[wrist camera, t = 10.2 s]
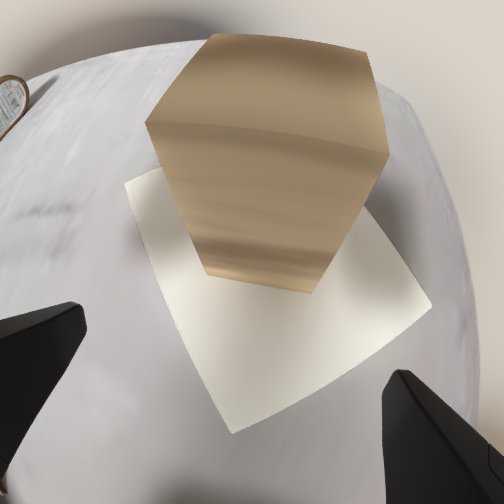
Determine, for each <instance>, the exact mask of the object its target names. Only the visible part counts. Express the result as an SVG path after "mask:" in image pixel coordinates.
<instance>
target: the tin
mask: <svg viewBox="0 0 504 504" xmlns="http://www.w3.org/2000/svg"><path fill="white" fill-rule="evenodd" d="M28 103H29V89H28V86H27V84H26V82H25V81H24V80H23V79H22V78H20V77H17V76H14V75H5V76H2V77H0V140H1V139H2V138H3V137H4V136H5V135H6V134H7V133H8V132H9V130H10V129H11V128H12V127H13V126H14V125H15V124H16V123H17V122H18V121H19V120H20V119H21V118H22V116H23V115H24V113H25V111H26V109H27V106H28Z"/></svg>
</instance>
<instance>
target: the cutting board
mask: <svg viewBox="0 0 504 504" xmlns="http://www.w3.org/2000/svg"><path fill="white" fill-rule="evenodd" d="M125 188H126V191H127V194H128V198H129V201H130V204H131V207H132V210H133V214H134V217H135V220H136V223H137V226H138V229H139V232H140V235H141V237H142V240H143V243H144V246H145V249H146V251H147V254H148V257H149V260H150V262H151V265H152V268H153V270H154V273H155V275H156V278H157V281H158V283H159V286H160V288H161V291H162V293H163V296H164V298H165V300H166V303H167V305H168V308H169V310H170V312H171V315H172V317H173V319H174V321H175V324H176V326H177V328H178V331H179V333H180V335H181V337H182V339H183V341H184V344H185V346H186V348H187V350H188V352H189V354H190V356H191V358H192V361H193V363H194V365H195V367H196V369H197V371H198V373H199V375H200V377H201V379H202V381H203V383H204V385H205V387H206V388H207V390H208V392H209V394H210V396H211V398H212V400H213V402H214V404H215V405H216V407H217V409H218V411H219V413H220V415H221V416H222V418H223V420H224V422H225V423H226V425H227V427H228V429H229V430H230V432H231V434H234V433H236V432H238V431H240V430H243V429H245V428H247V427H249V426H251V425H253V424H255V423H258V422H260V421H262V420H264V419H266V418H268V417H270V416H272V415H274V414H276V413H278V412H280V411H281V410H283V409H285V408H287V407H289V406H291V405H293V404H294V403H296V402H298V401H300V400H302V399H303V398H305V397H307V396H309V395H310V394H312V393H314V392H316V391H317V390H319V389H321V388H322V387H324V386H325V385H327V384H329V383H330V382H332V381H334V380H335V379H337V378H338V377H340V376H341V375H343V374H344V373H346V372H348V371H349V370H351V369H352V368H354V367H355V366H356V365H358V364H359V363H361V362H362V361H364V360H365V359H367V358H368V357H369V356H371V355H372V354H374V353H375V352H376V351H378V350H379V349H381V348H382V347H383V346H385V345H386V344H387V343H389V342H390V341H391V340H392V339H394V338H395V337H396V336H398V335H399V334H400V333H401V332H403V331H404V330H405V329H406V328H408V327H409V326H410V325H411V324H413V323H414V322H415V321H416V320H417V319H419V318H420V317H421V316H422V315H423V314H424V313H426V312H427V311H428V310H429V309H430V308H431V307H432V305H431V303H430V301H429V300H428V298H427V296H426V295H425V293H424V291H423V290H422V288H421V286H420V285H419V283H418V282H417V280H416V279H415V277H414V275H413V274H412V272H411V271H410V269H409V268H408V266H407V265H406V263H405V262H404V260H403V259H402V257H401V256H400V254H399V253H398V251H397V250H396V248H395V247H394V246H393V244H392V243H391V241H390V240H389V239H388V237H387V236H386V234H385V233H384V232H383V230H382V229H381V227H380V226H379V225H378V223H377V222H376V221H375V219H374V218H373V217H372V215H371V214H370V213H369V212H368V210H367V209H366V208H365V206H363V208H362V209H361V211H360V213H359V215H358V217H357V218H356V220H355V222H354V224H353V226H352V227H351V229H350V231H349V233H348V234H347V236H346V238H345V239H344V241H343V243H342V245H341V246H340V248H339V250H338V251H337V253H336V255H335V256H334V258H333V260H332V261H331V263H330V265H329V266H328V268H327V270H326V271H325V273H324V275H323V276H322V278H321V279H320V281H319V283H318V284H317V286H316V287H315V289H314V291H313V292H312V294H308V293H302V292H296V291H290V290H284V289H279V288H273V287H268V286H262V285H257V284H251V283H246V282H240V281H235V280H230V279H225V278H220V277H215V276H209V275H207V274H206V272H205V270H204V268H203V265H202V263H201V261H200V259H199V256H198V254H197V252H196V249H195V247H194V245H193V243H192V240H191V238H190V236H189V233H188V231H187V229H186V226H185V224H184V221H183V219H182V217H181V214H180V212H179V209H178V207H177V205H176V202H175V200H174V197H173V195H172V192H171V190H170V187H169V185H168V182H167V180H166V177H165V175H164V172H163V170H162V167H161V166H160V167H158V168H156V169H154V170H152V171H149V172H147V173H145V174H143V175H141V176H139V177H137V178H135V179H133V180H131V181H129V182H127V183H125Z"/></svg>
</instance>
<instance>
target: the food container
mask: <svg viewBox="0 0 504 504" xmlns="http://www.w3.org/2000/svg"><path fill="white" fill-rule="evenodd" d="M5 494H7V491H6V490H5V488H4V487H3V485H2V484H1V483H0V497H1V496H3V495H5Z"/></svg>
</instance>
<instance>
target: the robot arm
mask: <svg viewBox="0 0 504 504" xmlns="http://www.w3.org/2000/svg"><path fill="white" fill-rule="evenodd" d="M86 332H87V325H86V320H85V315H84V310H83V307H82V306H81V305H80V304H77V303H75V302H66V303H62V304H58V305H55V306H51V307H47V308H43V309H40V310H36V311H32V312H28V313H25V314H21V315H17V316H13V317H10V318H6V319H2V320H0V483H1V481H2V479H3V477H4V475H5V473H6V471H7V469H8V467H9V464H10V462H11V460H12V459H13V457H14V455H15V453H16V451H17V449H18V447H19V446H20V444H21V442H22V440H23V438H24V437H25V435H26V433H27V431H28V430H29V428H30V426H31V425H32V423H33V421H34V420H35V418H36V416H37V415H38V413H39V411H40V410H41V408H42V407H43V405H44V403H45V402H46V400H47V399H48V397H49V395H50V394H51V392H52V391H53V389H54V388H55V386H56V385H57V383H58V382H59V380H60V379H61V377H62V376H63V374H64V372H65V371H66V369H67V367H68V366H69V364H70V362H71V360H72V358H73V356H74V355H75V353H76V351H77V349H78V347H79V346H80V344H81V342H82V340H83V338H84V337H85V335H86ZM382 446H383V458H384V470H385V485H386V504H504V456H502V455H501V454H500V453H499V452H498V451H497V450H496V449H495V448H494V447H493V446H492V445H491V444H488V442H487V441H486V440H485V439H484V438H483V437H482V436H481V435H480V434H479V433H478V432H477V431H476V430H475V429H474V428H472V427H471V426H470V425H469V424H468V423H467V422H466V421H465V420H464V419H463V418H462V417H461V416H459V415H458V414H457V413H456V412H455V411H454V410H453V409H452V408H451V407H450V406H449V405H447V404H446V403H445V402H444V401H443V400H442V399H441V398H440V397H439V396H438V395H436V394H435V393H434V392H433V391H432V390H431V389H430V388H429V387H428V386H426V385H425V384H424V383H423V382H422V381H421V380H420V379H419V378H418V377H416V376H415V375H414V374H413V373H412V372H411V371H409V370H401V369H397V370H395V371H394V372H393V374H392V376H391V377H390V379H389V381H388V383H387V385H386V386H385V388H384V390H383V393H382Z"/></svg>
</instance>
